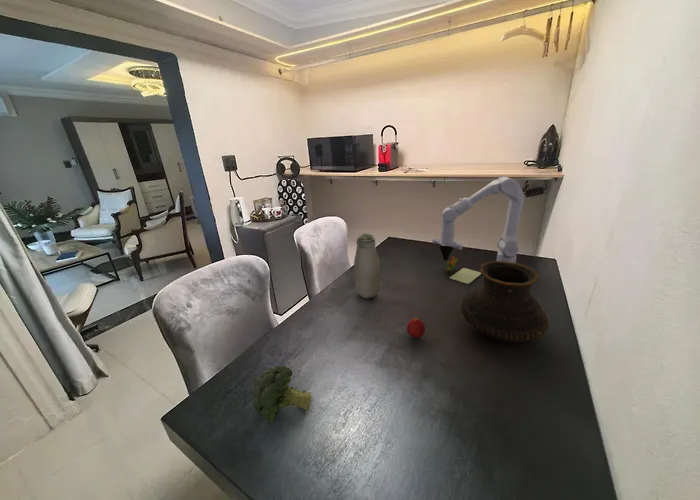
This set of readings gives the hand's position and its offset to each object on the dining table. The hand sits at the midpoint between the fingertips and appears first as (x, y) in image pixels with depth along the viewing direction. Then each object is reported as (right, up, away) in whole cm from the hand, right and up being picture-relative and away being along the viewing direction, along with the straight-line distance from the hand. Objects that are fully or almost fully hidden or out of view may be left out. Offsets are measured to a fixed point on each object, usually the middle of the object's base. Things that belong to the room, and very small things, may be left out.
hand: (445, 259), depth 129 cm
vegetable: (-64, -36, -61) cm, 96 cm away
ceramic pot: (+2, -23, -42) cm, 48 cm away
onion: (-25, -25, -42) cm, 55 cm away
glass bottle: (-39, -15, -15) cm, 45 cm away
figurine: (+3, -6, 0) cm, 7 cm away
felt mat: (+7, -7, -5) cm, 12 cm away
